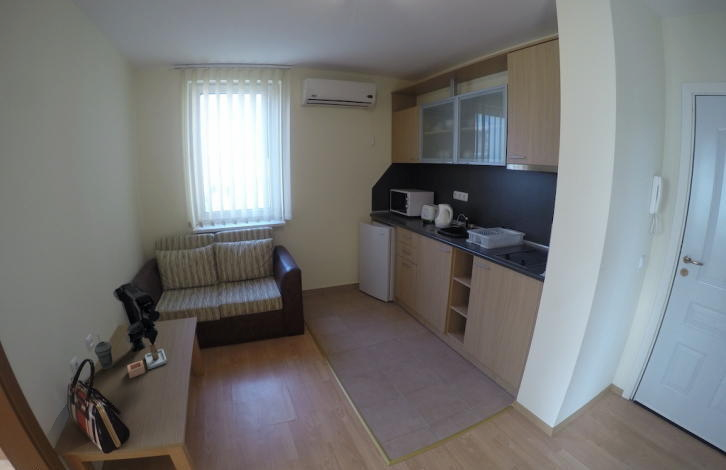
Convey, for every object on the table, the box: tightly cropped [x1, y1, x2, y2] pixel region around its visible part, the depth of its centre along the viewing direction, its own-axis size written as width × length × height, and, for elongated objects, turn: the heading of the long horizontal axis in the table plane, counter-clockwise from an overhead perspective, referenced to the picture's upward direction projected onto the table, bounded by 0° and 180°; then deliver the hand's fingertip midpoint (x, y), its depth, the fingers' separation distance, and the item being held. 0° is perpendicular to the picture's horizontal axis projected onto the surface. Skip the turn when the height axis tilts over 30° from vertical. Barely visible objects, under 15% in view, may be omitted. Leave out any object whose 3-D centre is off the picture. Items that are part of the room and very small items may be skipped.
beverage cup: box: [94, 334, 114, 370], centre depth 172 cm, size 7×7×20 cm
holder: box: [127, 359, 146, 379], centre depth 169 cm, size 7×7×4 cm
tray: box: [144, 348, 168, 370], centre depth 179 cm, size 14×9×2 cm, turn 40°
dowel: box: [149, 342, 159, 361], centre depth 178 cm, size 3×3×10 cm
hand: (151, 340), depth 176 cm, fingers open, 9 cm apart
